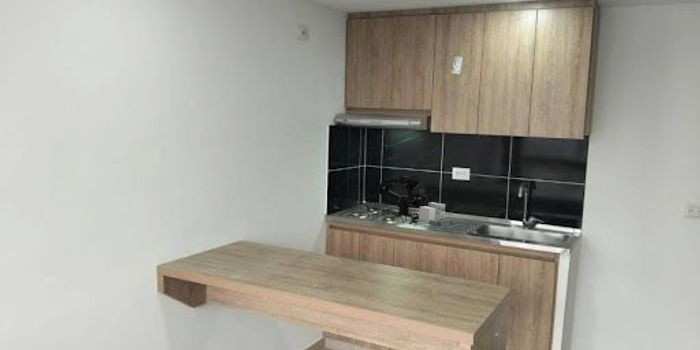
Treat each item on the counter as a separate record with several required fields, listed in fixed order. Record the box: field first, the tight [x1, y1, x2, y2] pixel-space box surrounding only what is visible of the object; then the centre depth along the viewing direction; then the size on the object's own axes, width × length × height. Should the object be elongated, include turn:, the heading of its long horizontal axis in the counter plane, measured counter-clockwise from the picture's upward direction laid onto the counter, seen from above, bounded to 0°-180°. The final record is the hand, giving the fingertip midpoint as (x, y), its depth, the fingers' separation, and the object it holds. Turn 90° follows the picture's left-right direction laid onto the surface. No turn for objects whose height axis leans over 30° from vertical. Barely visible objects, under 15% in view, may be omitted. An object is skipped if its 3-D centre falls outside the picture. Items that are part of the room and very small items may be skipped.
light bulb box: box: [427, 201, 446, 220], centre depth 387 cm, size 11×7×11 cm, turn 56°
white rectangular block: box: [418, 205, 436, 222], centre depth 372 cm, size 9×6×9 cm, turn 40°
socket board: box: [415, 218, 453, 227], centre depth 367 cm, size 22×14×4 cm, turn 40°
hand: (421, 209), depth 375 cm, fingers closed
